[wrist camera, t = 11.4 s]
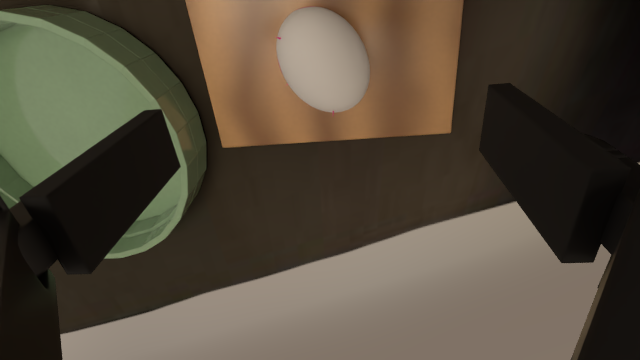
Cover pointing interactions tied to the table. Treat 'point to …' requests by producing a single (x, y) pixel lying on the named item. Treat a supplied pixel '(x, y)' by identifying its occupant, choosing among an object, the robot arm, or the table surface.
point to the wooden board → (299, 117)
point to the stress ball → (323, 59)
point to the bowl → (88, 108)
